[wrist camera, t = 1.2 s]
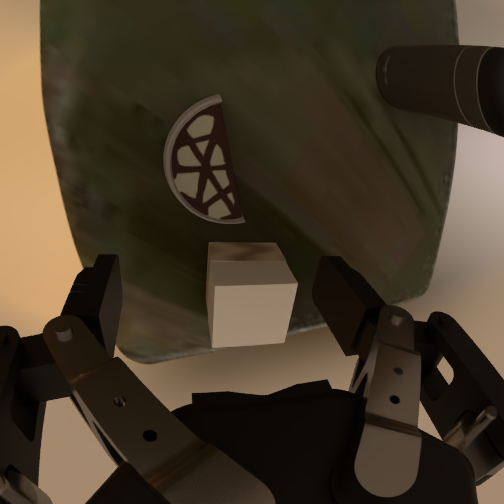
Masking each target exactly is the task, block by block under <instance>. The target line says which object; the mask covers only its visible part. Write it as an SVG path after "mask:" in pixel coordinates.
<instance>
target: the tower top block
mask: <svg viewBox="0 0 504 504" xmlns="http://www.w3.org/2000/svg"><path fill="white" fill-rule="evenodd" d="M297 285H298V283H297V281H296V279H295V278H294V276H293V274H292V272H291V271H290V269H289V267H288V265H287V264H286V262H285V260H281V261H210V279H209V305H208V324H209V330H210V337H211V343H212V348H216V347H234V346H249V345H262V344H275V343H284V342H285V337H286V333H287V329H288V325H289V321H290V316H291V312H292V308H293V303H294V299H295V294H296V290H297Z"/></svg>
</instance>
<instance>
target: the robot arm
mask: <svg viewBox="0 0 504 504" xmlns="http://www.w3.org/2000/svg"><path fill="white" fill-rule="evenodd" d="M376 76H377V83H378V86H379V89H380V91H381V93H382V95H383V96H384V98H385V99H386V100H387V101H388V102H389V103H390V104H391V105H393V106H394V107H396V108H399V109H403V110H408V111H413V112H417V113H421V114H426V115H430V116H434V117H438V118H442V119H446V120H450V121H454V122H457V123H461V124H464V125H468V126H471V127H474V128H478V129H481V130H484V131H488V132H491V133H494V134H497V135H499V136H502V137H504V48H501V47H489V46H470V45H418V46H400V47H393V48H390V49H388V50H386V51H385V52H384V53H383V54H382V56H381V57H380V59H379V61H378V65H377V73H376ZM312 297H313V301H314V303H315V305H316V306H317V308H318V310H319V311H320V313H321V315H322V316H323V318H324V320H325V321H326V323H327V325H328V327H329V328H330V330H331V332H332V333H333V335H334V337H335V338H336V340H337V342H338V344H339V345H340V347H341V349H342V350H343V352H344V354H345V355H346V356H351V355H357V354H358V355H359V358H358V360H357V363H356V366H355V370H354V373H353V377H352V380H351V384H350V387H349V391H345V390H339V389H332V388H331V386H330V384H329V382H328V380H327V379H326V380H321V381H314V382H308V383H302V384H296V385H293V386H291V387H288V388H286V389H283V390H280V391H277V392H275V393H272V394H269V395H254V394H245V393H236V392H229V391H227V392H210V393H192V404H189V405H185V406H182V407H180V408H177V409H175V410H173V411H172V412H170V411H169V410H168V409H167V408H166V407H165V406H164V405H163V404H162V403H161V402H160V401H159V400H158V399H157V398H156V397H155V396H154V395H153V394H152V392H151V391H149V389H148V388H147V387H146V386H145V385H144V384H143V383H142V382H141V381H140V380H139V379H138V377H136V375H135V374H134V373H133V372H132V371H131V370H130V369H129V367H127V365H126V364H125V363H124V362H123V361H122V360H121V359H120V358H119V357H115V358H113V357H114V350H115V343H116V337H117V331H118V325H119V319H120V313H121V308H122V285H121V276H120V266H119V258H118V255H108V254H99V255H98V257H97V259H96V261H95V264H94V266H93V267H85V268H84V269H83V270H82V271H81V272H80V273H79V274H78V275H77V276H76V279H75V281H74V283H73V285H72V288H71V290H70V293H69V295H68V297H67V300H66V302H65V305H64V307H63V310H62V312H61V315H60V316H58V317H56V318H54V319H52V320H50V321H49V322H48V323H47V324H46V325H45V327H44V329H43V333H41V334H38V335H33V336H27V337H22V338H20V336H19V334H18V331H17V330H16V329H15V328H13V327H11V326H0V504H53V503H52V501H51V500H50V498H49V497H48V496H47V494H45V493H44V492H43V491H42V490H41V489H40V488H38V476H39V460H40V448H41V439H42V429H43V421H44V415H45V408H46V402H47V401H48V400H53V399H59V398H64V397H70V399H71V401H72V402H73V404H74V406H75V407H76V409H77V410H78V412H79V413H80V415H81V416H82V418H83V419H84V421H85V422H86V424H87V425H88V426H89V428H90V429H91V431H92V432H93V434H94V435H95V437H96V438H97V439H98V441H99V442H100V444H101V445H102V447H103V448H104V450H105V451H106V453H107V454H108V455H109V457H110V458H111V459H112V460H113V462H114V463H115V464H116V465H117V467H118V468H117V469H116V470H115V471H114V472H113V473H112V474H111V476H110V477H109V478H108V479H107V480H106V481H105V482H104V484H102V486H101V487H100V488H99V489H98V490H97V491H96V492H95V493H94V494H93V496H92V497H91V498H90V499H89V500H88V501H87V502H86V503H85V504H478V499H477V492H476V486H478V485H480V484H482V483H483V482H485V481H486V480H487V479H489V478H490V477H492V476H493V475H494V474H496V473H497V472H498V471H499V470H501V469H502V468H503V467H504V380H503V378H502V377H501V376H500V374H499V373H498V372H497V370H496V369H495V368H494V367H493V365H492V364H491V363H490V361H489V360H488V359H487V358H486V356H485V355H484V354H483V353H482V351H481V350H480V349H479V348H478V346H477V345H476V344H475V343H474V342H473V340H472V339H471V338H470V337H469V336H468V334H467V333H466V332H465V331H464V330H463V329H462V327H461V326H460V325H459V324H458V323H457V322H456V320H455V319H454V318H452V317H451V316H450V315H448V314H445V313H443V312H433V313H431V315H430V316H429V318H428V320H427V322H422V321H414V320H413V317H412V316H411V315H410V314H409V312H407V311H406V310H404V309H403V308H400V307H398V306H394V305H387V304H386V303H385V302H384V301H383V299H382V298H381V297H380V296H379V295H378V294H377V292H376V291H375V290H374V289H373V288H372V287H371V285H370V284H369V283H368V282H367V281H366V280H365V279H364V277H363V276H362V275H361V274H360V273H358V272H357V271H355V270H354V269H352V268H351V267H349V265H348V264H347V263H346V262H345V261H344V260H343V259H342V257H340V256H323V257H322V258H321V259H320V261H319V265H318V269H317V273H316V277H315V281H314V284H313V289H312ZM443 356H444V357H445V359H446V360H447V362H448V363H449V364H450V365H451V367H452V368H453V372H454V378H453V380H452V382H451V383H450V385H449V384H448V383H447V382H446V380H445V379H444V377H443V376H442V374H441V373H440V371H439V370H438V368H437V365H438V364H439V362H440V361H441V359H442V358H443ZM419 401H421V403H422V405H423V407H424V408H425V410H426V412H427V414H428V415H429V417H430V419H431V421H432V422H433V424H434V426H435V428H436V429H437V431H438V433H439V435H440V436H441V438H442V440H443V441H441V440H439V439H437V438H436V437H434V436H432V435H430V434H428V433H426V432H424V431H422V430H420V429H419V428H418V415H419Z"/></svg>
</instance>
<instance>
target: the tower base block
mask: <svg viewBox="0 0 504 504" xmlns="http://www.w3.org/2000/svg"><path fill="white" fill-rule="evenodd" d="M281 260H285V262H286V259H285V257H284V256H283V254H282V252H281V251H280V249H279V247H278V245H277V244H276V243H255V242H209V248H208V264H207V282H206V304H207V310H208V305H209V279H210V261H281Z"/></svg>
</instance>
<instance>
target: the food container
mask: <svg viewBox="0 0 504 504" xmlns="http://www.w3.org/2000/svg"><path fill="white" fill-rule="evenodd" d="M221 102H222V100H221V97H220V95H219V94H217V95H214V96H210V97H208V98H205V99H203V100H201V101H199V102H197V103H196V104H194V105H193V106H191V107H190V108H188V109H187V110H186V111H185V112H184V113H183V114H182V115H181V116H180V117H179V118H178V120H177V121H176V122H175V124H174V125H173V127H172V129H171V131H170V133H169V135H168V138H167V140H166V143H165V148H164V155H163V160H164V171H165V176H166V178H167V181H168V184H169V186H170V188H171V190H172V191H173V193H174V194H175V196H176V197H177V198H178V200H179V201H180V202H181V203H182V204H183V205H184V206H185V207H186V208H187V209H188V210H189V211H191V212H192V213H194V214H195V215H197V216H199V217H201V218H203V219H205V220H209V221H212V222H216V223H224V224H238V223H244V222H245V220H244V218H243V215H242V213H241V209H240V205H239V200H238V195H237V189H236V184H235V179H234V173H233V168H232V162H231V157H230V152H229V147H228V142H227V136H226V131H225V126H224V120H223V115H222V110H221V105H220V103H221Z"/></svg>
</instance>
